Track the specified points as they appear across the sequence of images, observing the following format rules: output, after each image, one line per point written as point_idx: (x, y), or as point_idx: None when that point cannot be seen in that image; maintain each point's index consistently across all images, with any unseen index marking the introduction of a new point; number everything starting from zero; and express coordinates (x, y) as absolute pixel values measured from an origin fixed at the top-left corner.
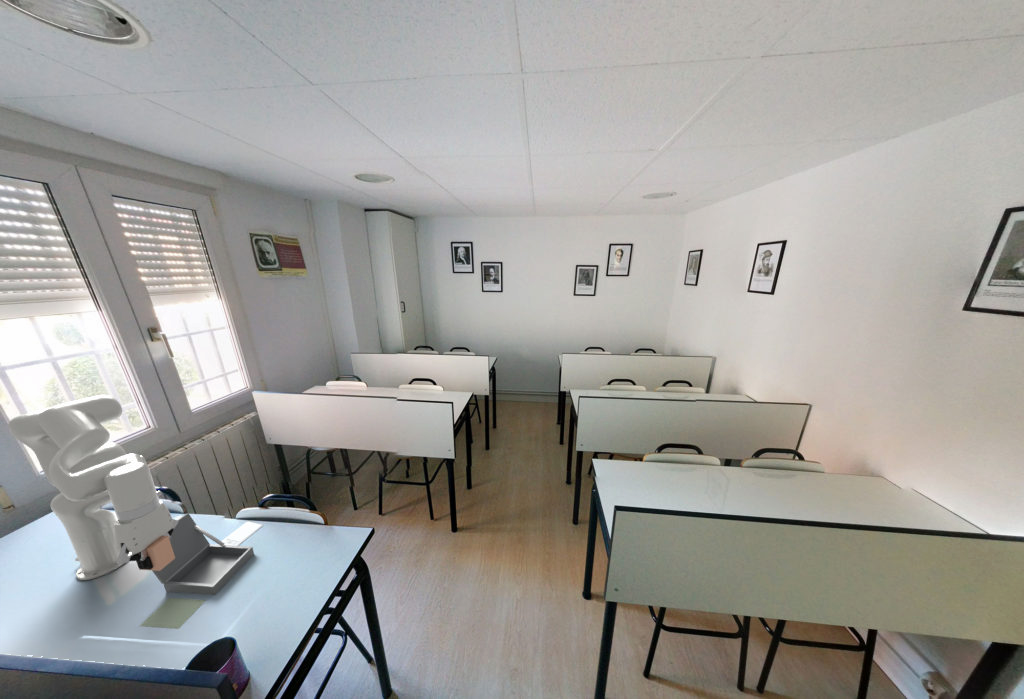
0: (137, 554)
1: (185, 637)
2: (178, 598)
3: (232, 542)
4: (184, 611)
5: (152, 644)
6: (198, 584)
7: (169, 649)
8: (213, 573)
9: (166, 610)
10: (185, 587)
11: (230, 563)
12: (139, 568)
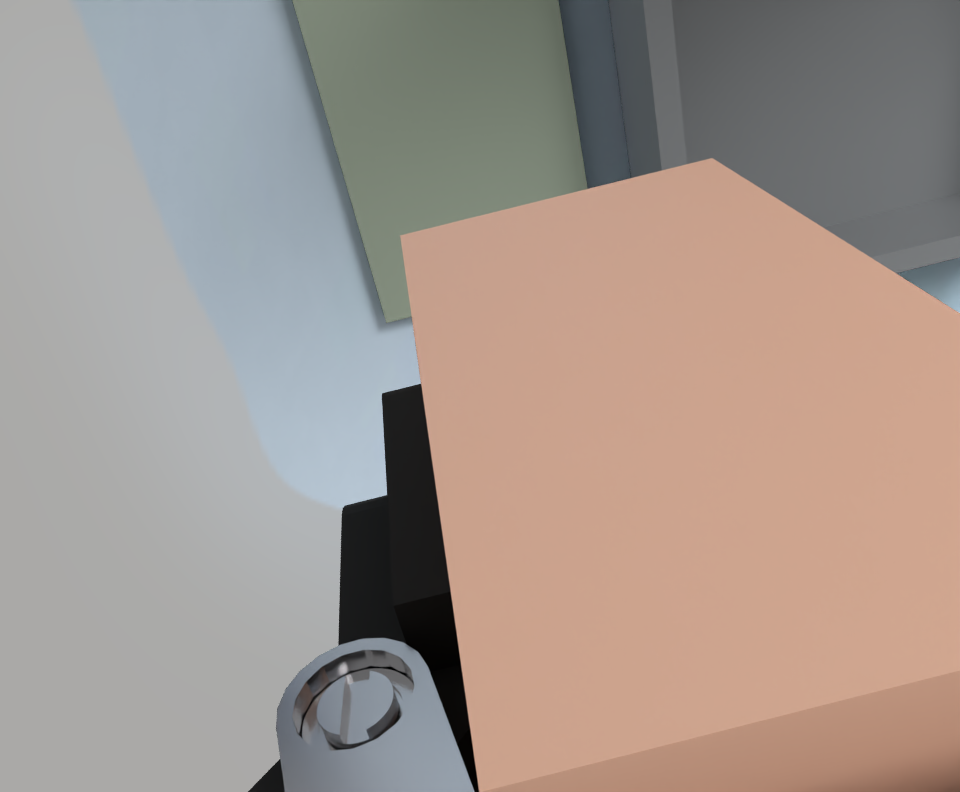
0: (424, 787)
1: (370, 410)
2: (556, 3)
3: None
4: (487, 210)
5: (255, 250)
6: None
7: (286, 400)
8: (820, 35)
9: (448, 35)
10: (635, 27)
11: (930, 82)
12: (345, 520)
